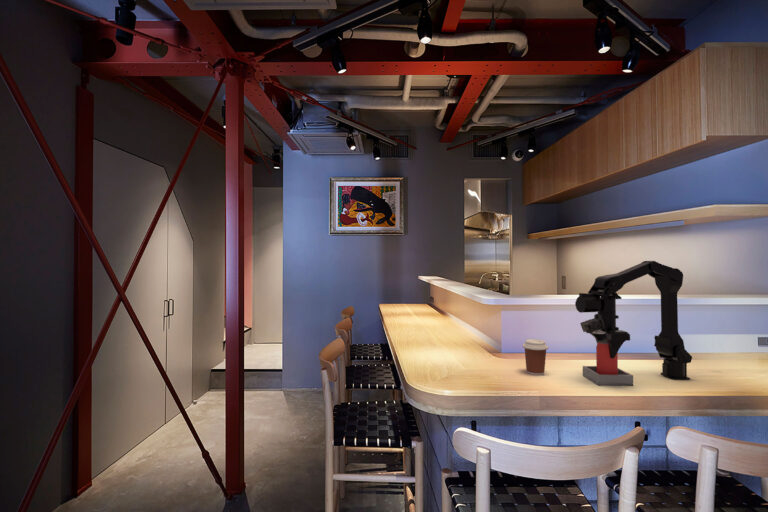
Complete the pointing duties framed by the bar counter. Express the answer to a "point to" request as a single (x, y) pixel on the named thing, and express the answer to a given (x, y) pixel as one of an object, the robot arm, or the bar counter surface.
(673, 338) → the robot arm
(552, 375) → the bar counter surface
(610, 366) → the beer can
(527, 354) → the coffee cup
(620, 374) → the tray
